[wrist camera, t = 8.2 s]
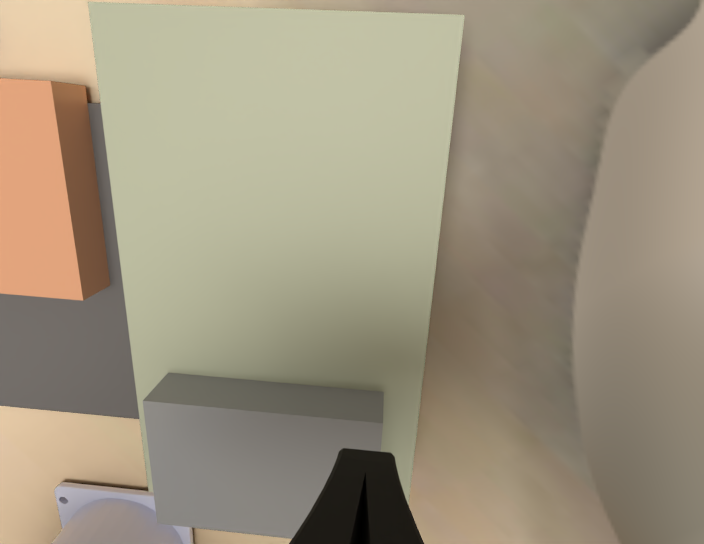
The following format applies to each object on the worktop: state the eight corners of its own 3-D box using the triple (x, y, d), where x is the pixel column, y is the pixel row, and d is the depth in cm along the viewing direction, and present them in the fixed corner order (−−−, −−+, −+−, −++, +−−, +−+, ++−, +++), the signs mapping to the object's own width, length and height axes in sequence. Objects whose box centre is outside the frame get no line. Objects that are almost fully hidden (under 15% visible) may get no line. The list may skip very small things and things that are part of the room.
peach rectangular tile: (-44, 289, 20) (-7, 275, 22) (83, 300, 20) (110, 285, 21) (-98, 73, 17) (-49, 78, 19) (50, 81, 17) (85, 85, 19)
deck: (404, 456, 24) (407, 519, 20) (186, 434, 24) (148, 491, 21) (448, 39, 17) (464, 14, 13) (151, 28, 18) (87, 2, 14)
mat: (176, 418, 24) (173, 422, 24) (2, 402, 25) (-2, 405, 24) (147, 106, 19) (143, 105, 19) (-70, 95, 20) (-77, 94, 19)
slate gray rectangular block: (383, 391, 18) (383, 423, 16) (374, 507, 20) (372, 547, 18) (168, 372, 18) (142, 400, 16) (179, 486, 20) (157, 523, 18)
